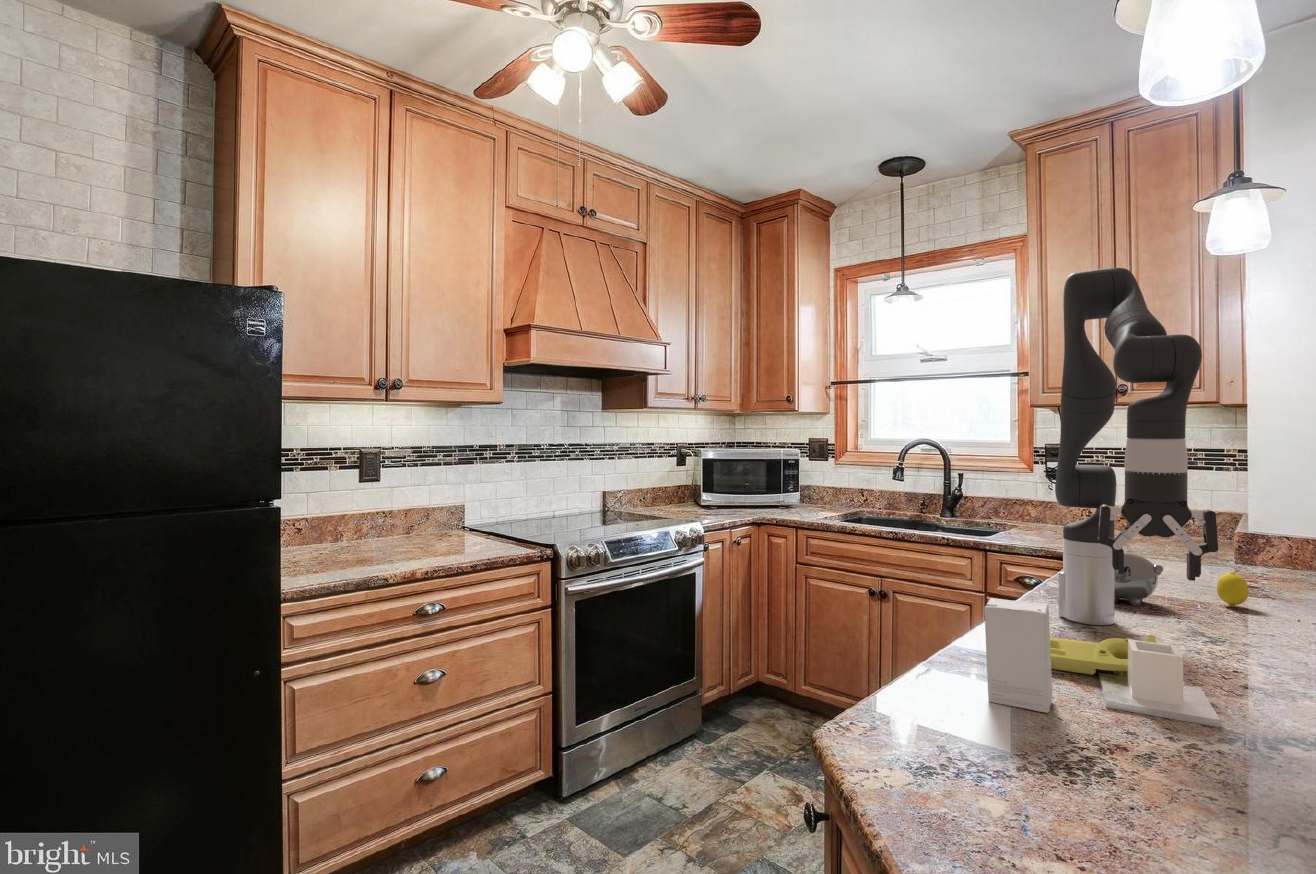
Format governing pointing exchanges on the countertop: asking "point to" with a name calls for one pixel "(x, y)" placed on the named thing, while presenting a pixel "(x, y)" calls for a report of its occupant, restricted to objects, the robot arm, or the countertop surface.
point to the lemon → (1232, 589)
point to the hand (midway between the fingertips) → (1155, 576)
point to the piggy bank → (1136, 579)
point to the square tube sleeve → (1155, 671)
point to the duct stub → (1191, 710)
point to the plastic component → (1091, 655)
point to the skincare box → (1018, 654)
